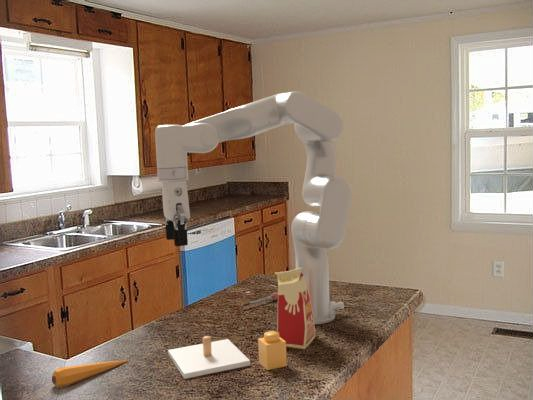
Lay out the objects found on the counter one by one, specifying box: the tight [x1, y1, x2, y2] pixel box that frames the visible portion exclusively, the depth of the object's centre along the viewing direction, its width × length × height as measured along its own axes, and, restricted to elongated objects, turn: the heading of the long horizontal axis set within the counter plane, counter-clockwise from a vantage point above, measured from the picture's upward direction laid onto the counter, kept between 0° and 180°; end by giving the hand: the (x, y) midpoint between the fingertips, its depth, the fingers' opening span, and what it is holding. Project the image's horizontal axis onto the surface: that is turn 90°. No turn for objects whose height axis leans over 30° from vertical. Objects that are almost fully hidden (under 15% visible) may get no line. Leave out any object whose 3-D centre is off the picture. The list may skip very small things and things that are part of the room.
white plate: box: [167, 335, 251, 380], centre depth 138 cm, size 16×16×6 cm
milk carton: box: [274, 267, 316, 350], centre depth 147 cm, size 9×9×20 cm
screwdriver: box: [240, 291, 278, 307], centre depth 185 cm, size 25×3×3 cm, turn 131°
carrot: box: [51, 359, 131, 388], centre depth 133 cm, size 20×4×4 cm, turn 137°
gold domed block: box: [257, 330, 288, 371], centre depth 134 cm, size 5×5×8 cm
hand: (176, 242), depth 143 cm, fingers open, 9 cm apart
